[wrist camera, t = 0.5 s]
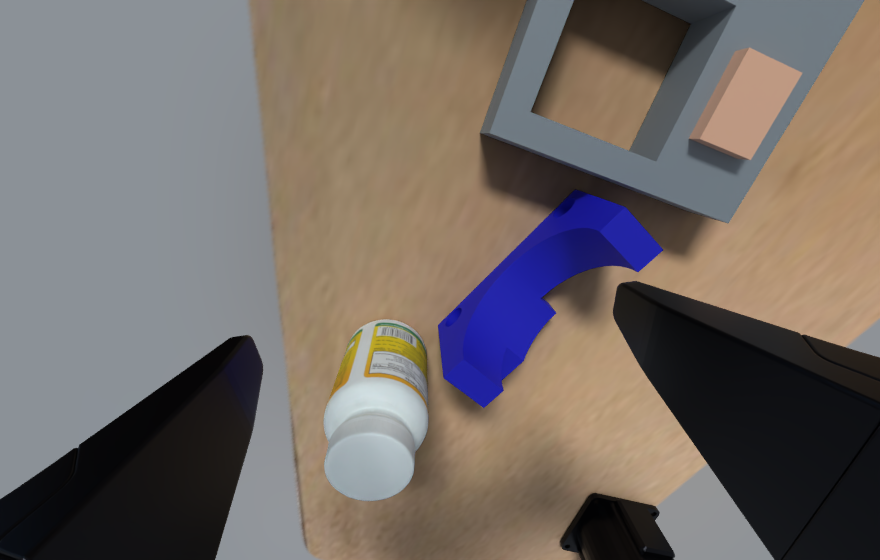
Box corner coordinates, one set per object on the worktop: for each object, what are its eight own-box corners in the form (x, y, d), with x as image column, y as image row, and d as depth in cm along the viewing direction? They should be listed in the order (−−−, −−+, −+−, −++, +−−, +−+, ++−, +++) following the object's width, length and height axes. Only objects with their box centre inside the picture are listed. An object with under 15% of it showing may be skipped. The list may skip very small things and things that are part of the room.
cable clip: (485, 361, 27) (502, 422, 21) (437, 323, 25) (443, 377, 20) (619, 237, 24) (681, 270, 18) (574, 188, 23) (625, 207, 17)
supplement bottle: (409, 305, 25) (405, 404, 16) (437, 370, 27) (448, 491, 18) (332, 332, 25) (286, 444, 16) (366, 395, 27) (340, 525, 18)
